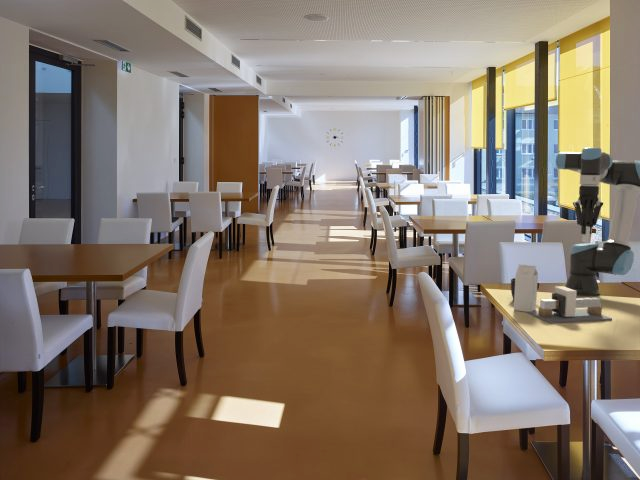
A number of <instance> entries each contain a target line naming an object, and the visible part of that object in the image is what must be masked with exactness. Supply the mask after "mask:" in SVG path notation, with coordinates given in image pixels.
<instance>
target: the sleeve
mask: <svg viewBox="0 0 640 480" xmlns="http://www.w3.org/2000/svg"><path fill="white" fill-rule="evenodd" d="M553 293H557V294H560V295H563V296H565V297H566V302H565V315H563V316H565V317H570V316H575V310H576V309H577V308H576V298H577V294H576V293H577V291H576V290H573V289H570V288H567V287H565V285H564V286H563V285H562V286H554V292H553ZM557 299H558V298H557Z"/></svg>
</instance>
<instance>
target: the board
mask: <svg viewBox="0 0 640 480" xmlns="http://www.w3.org/2000/svg"><path fill="white" fill-rule="evenodd" d="M587 309H588V308H580V309H579V308H576V309H575V316H570V317H565V316H563V315H560V314H558V313H556V312H553V311H552V317H551V318H544V317H542V316H540V315H538V312H539V310H534V311H530V312H528V314H529V315H531V316H533V317H536V318H537V319H540V320H543V321H545V322H546V323H548V324H564V323H566V324H567V323H568V324H569V323H582V322H583V323H584V322H589V321H590V322H606V321H605V320H610V321H613V318H612V317H610V316H607V315H604V314H602V313H601V315H592V314H590V313H587Z"/></svg>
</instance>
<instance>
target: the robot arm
mask: <svg viewBox="0 0 640 480" xmlns="http://www.w3.org/2000/svg"><path fill="white" fill-rule="evenodd" d="M555 166H556V168H557V169H559V170H569V171H573V172H575V173H579V176H580V177H579V184H580V185H579V189H578V195H579V197H578V198H577V200H576V201H573V202H572V205H573V207H574V211H575V218H576V224H577V225H578V226H580V227H581V230H580V233H581V235H582V236H581V242H582V243H576V244H573V245H572V246H571V250H570V257H569V258H570V259H569V261H570V262H569V276H568V278H567V279H566V282H565V284H564V287H567V288H570V289H573V290H576V291H577V293H576V296H577V295H580V296H598V294H600V288H599V284H598V280H597V273H601V274H608V275H614V276H625V275H627V274H628V273H629V272H630V270H631V268H632V266H633V263H634V261H635V260H634V256H635V254H634V251H633V250H631V249H632V247H631V245H630V244H629V240H630V236H631V231H632V226H633V221H634V215H635V213H636V212H635V211H636V206H637V201H638V196H639V194H640V160H636V159H635V160H631V159H630V160H628V159H627V160H624V159H623V160H621V159H613V157H612V156H611V154H609V153H608V152H602V148H601V147H584V148H582V150H581V152H575V151H560V152H559V153H557V155H556V157H555ZM600 183H603V184H606V185H609V186H610V185H611V186H615V189H616V190H617V195H616V200H615V205H614V209H613V215H612V220H611V223H610V224H611V225H610V230H609V234H608V238H607V240H606V241H604V242H603V245H602V247H601V246H599V244H598V243H595V242H590V235H592V229H593V227H594V226H596V225H597V223H598V219H599V216H600V212H601V209H602V208H603V206H604V202H601V201H600V200H599V197H598V196H599V192H600V191H599V190H600V187H599V185H600Z"/></svg>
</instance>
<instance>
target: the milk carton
mask: <svg viewBox="0 0 640 480" xmlns="http://www.w3.org/2000/svg"><path fill="white" fill-rule="evenodd" d="M514 278H515V294H514V301H513V311H519V312H526V313H529V312H530V311H536V309H537V297H538V296H537V295H538V290H537V283H538V278H539V274H538V271H537V266H536V265H531V264H522V263H518V268H517V270H516V272H515V277H514Z"/></svg>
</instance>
